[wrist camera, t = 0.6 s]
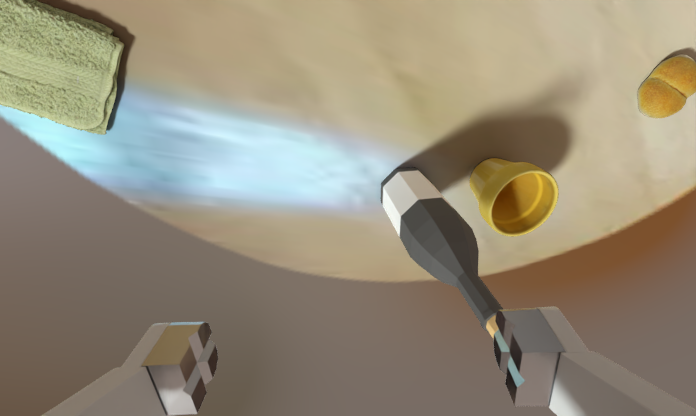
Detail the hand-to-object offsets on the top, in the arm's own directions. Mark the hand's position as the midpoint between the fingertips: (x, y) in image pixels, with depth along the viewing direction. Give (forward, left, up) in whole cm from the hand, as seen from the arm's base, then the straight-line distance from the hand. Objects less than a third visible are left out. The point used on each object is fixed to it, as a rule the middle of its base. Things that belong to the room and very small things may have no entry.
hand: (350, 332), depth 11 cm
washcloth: (-24, -16, -44) cm, 53 cm away
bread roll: (+44, +35, -44) cm, 71 cm away
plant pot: (+33, +8, -44) cm, 55 cm away
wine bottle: (+23, -2, -44) cm, 49 cm away
